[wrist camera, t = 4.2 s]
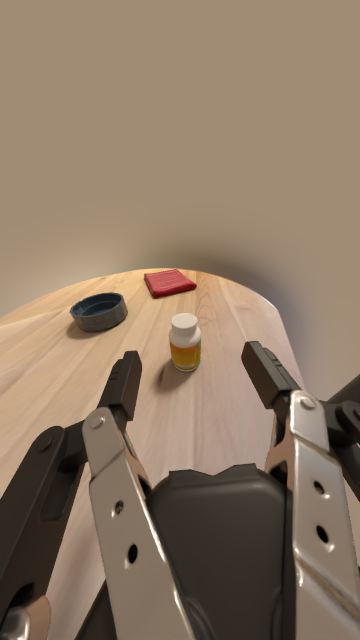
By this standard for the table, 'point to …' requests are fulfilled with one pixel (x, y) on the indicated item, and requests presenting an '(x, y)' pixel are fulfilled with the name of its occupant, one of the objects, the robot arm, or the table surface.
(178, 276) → the dish towel
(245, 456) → the table surface
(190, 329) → the supplement bottle
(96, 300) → the fruit bowl
